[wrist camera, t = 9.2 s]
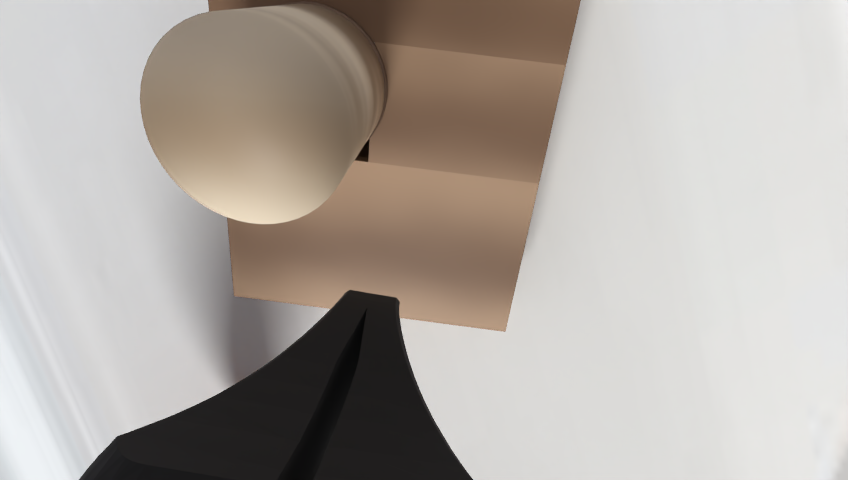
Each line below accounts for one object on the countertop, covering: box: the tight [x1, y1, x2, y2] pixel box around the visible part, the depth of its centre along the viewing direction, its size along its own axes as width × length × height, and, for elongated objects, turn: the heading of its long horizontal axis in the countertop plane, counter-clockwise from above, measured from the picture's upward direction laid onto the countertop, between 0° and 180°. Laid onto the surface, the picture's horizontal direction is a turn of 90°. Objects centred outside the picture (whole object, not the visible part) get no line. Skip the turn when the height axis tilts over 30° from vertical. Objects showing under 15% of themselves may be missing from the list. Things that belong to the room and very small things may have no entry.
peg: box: [140, 2, 388, 224], centre depth 16 cm, size 5×5×8 cm
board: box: [208, 0, 581, 332], centre depth 20 cm, size 14×12×3 cm
